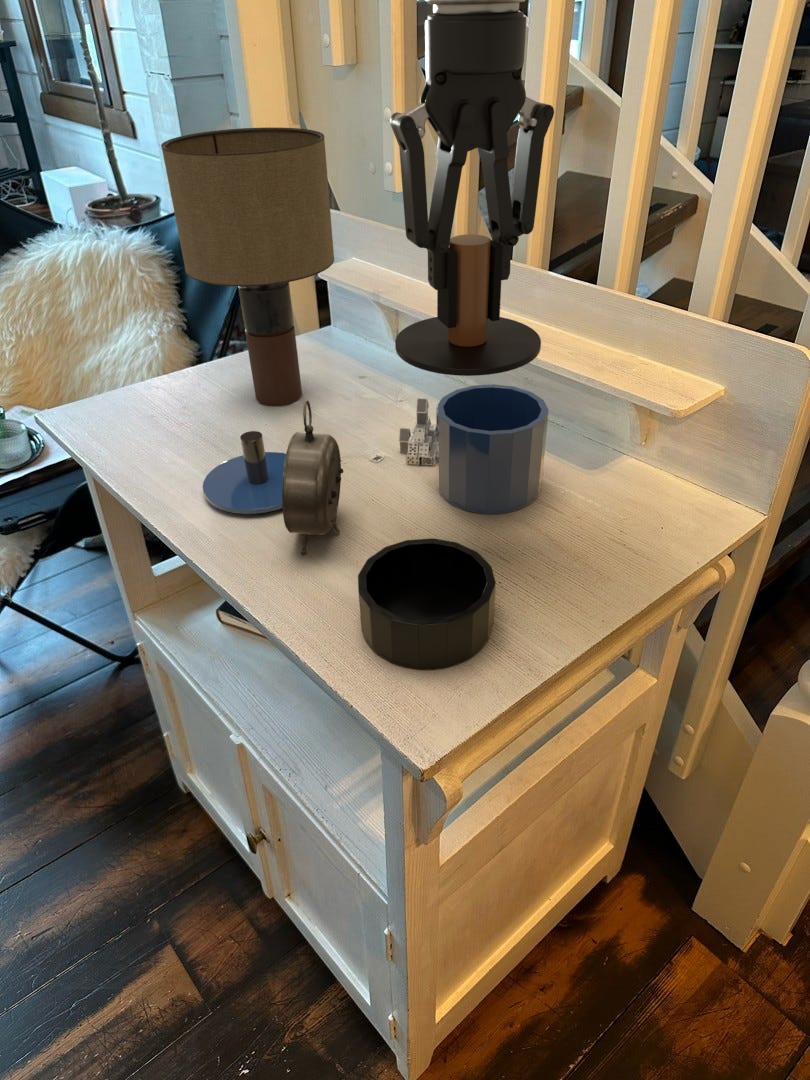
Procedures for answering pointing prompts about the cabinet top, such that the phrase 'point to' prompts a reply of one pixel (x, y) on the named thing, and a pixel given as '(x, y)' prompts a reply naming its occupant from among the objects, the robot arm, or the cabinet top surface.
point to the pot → (490, 448)
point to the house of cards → (418, 439)
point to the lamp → (255, 232)
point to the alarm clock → (311, 482)
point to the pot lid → (247, 479)
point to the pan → (426, 603)
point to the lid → (469, 325)
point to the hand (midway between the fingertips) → (468, 318)
